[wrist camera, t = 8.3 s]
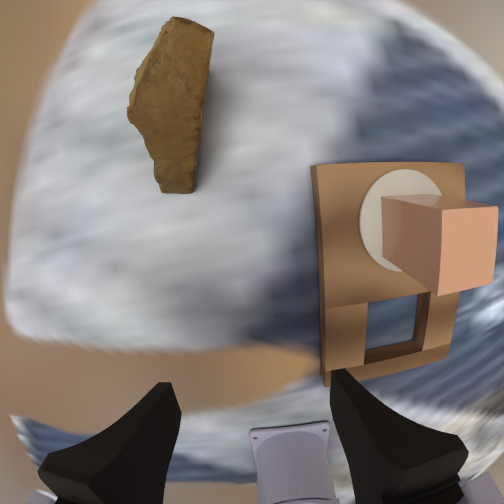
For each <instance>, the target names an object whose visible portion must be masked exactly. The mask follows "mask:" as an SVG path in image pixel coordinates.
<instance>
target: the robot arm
mask: <svg viewBox="0 0 504 504" xmlns="http://www.w3.org/2000/svg"><path fill="white" fill-rule="evenodd" d="M330 407H331V411H332V416H333V421H334V424H335V426H336V429H337V432H338V435H339V438H340V440H341V443H342V446H343V449H344V452H345V455H346V457H347V461H348V464H349V469H350V474H351V478H352V484H353V489H354V495H355V501H356V504H504V497H503V495H502V494H501V492H500V490H499V488H498V487H497V485H496V483H495V482H494V480H493V478H492V477H491V475H490V473H489V472H485V473H484V474H482V475H480V476H478V477H477V478H475V479H473V480H471V481H469V482H468V483H466V484H465V485H463V486H462V487H461V488H460V486H459V484H458V482H459V481H460V478H459V476H458V474H457V473H458V472H459V470H460V469H461V467H462V466H463V464H464V463H465V461H466V459H467V457H468V453H469V452H468V450H467V448H466V447H465V445H464V443H463V442H462V440H461V439H460V438H459V437H458V435H454V434H449V433H445V432H441V431H437V430H434V429H431V428H428V427H425V426H423V425H420V424H418V423H416V422H414V421H412V420H409V419H407V418H405V417H404V416H402V415H400V414H398V413H397V412H395V411H393V410H392V409H390V408H389V407H387V406H386V405H385V404H383V403H382V402H381V401H379V400H378V399H377V398H376V397H374V396H373V395H372V394H371V393H370V392H369V391H368V390H366V389H365V388H364V387H363V386H362V385H361V384H360V383H359V382H358V381H357V380H356V379H355V378H354V377H353V376H352V375H351V374H350V373H349V372H348V371H347V370H346V369H345V368H342V369H336V370H331V386H330ZM181 414H182V413H181V410H180V407H179V404H178V402H177V399H176V396H175V393H174V390H173V387H172V384H171V383H170V382H159V383H158V384H156V385H155V386H154V387H153V388H152V389H151V390H150V391H149V393H147V394H146V395H145V396H144V397H143V398H142V399H141V400H140V401H139V402H138V403H137V404H136V405H135V406H134V407H133V408H132V409H131V410H129V411H128V412H127V413H126V414H125V415H124V416H122V417H121V418H120V419H119V420H118V421H116V422H115V423H114V424H112V425H111V426H109V427H108V428H106V429H105V430H103V431H102V432H100V433H98V434H96V435H95V436H93V437H91V438H89V439H87V440H85V441H83V442H81V443H79V444H76V445H74V446H71V447H68V448H66V449H62V450H59V451H55V452H52V453H48V455H47V456H46V458H45V460H44V461H43V463H42V465H41V466H40V468H39V470H38V475H39V477H40V479H41V480H42V481H43V482H44V483H45V484H46V485H47V486H48V487H49V488H50V490H52V492H54V493H55V494H56V495H57V496H58V498H57V500H56V501H55V500H53V499H52V498H50V497H48V496H46V495H43V494H41V493H39V492H37V491H35V490H33V491H32V493H31V495H30V496H29V498H28V500H27V502H26V504H163V497H164V488H165V482H166V475H167V471H168V467H169V463H170V460H171V457H172V453H173V450H174V447H175V443H176V440H177V436H178V433H179V428H180V422H181ZM329 430H330V425H329V423H328V422H320V423H314V424H307V425H299V426H291V427H282V428H271V429H258V430H252V431H250V440H251V445H252V449H253V454H254V459H255V464H256V468H257V504H340V503H339V499H336V495H335V491H334V486H333V481H332V476H331V472H330V467H329V463H328V458H327V451H328V441H329Z"/></svg>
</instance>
